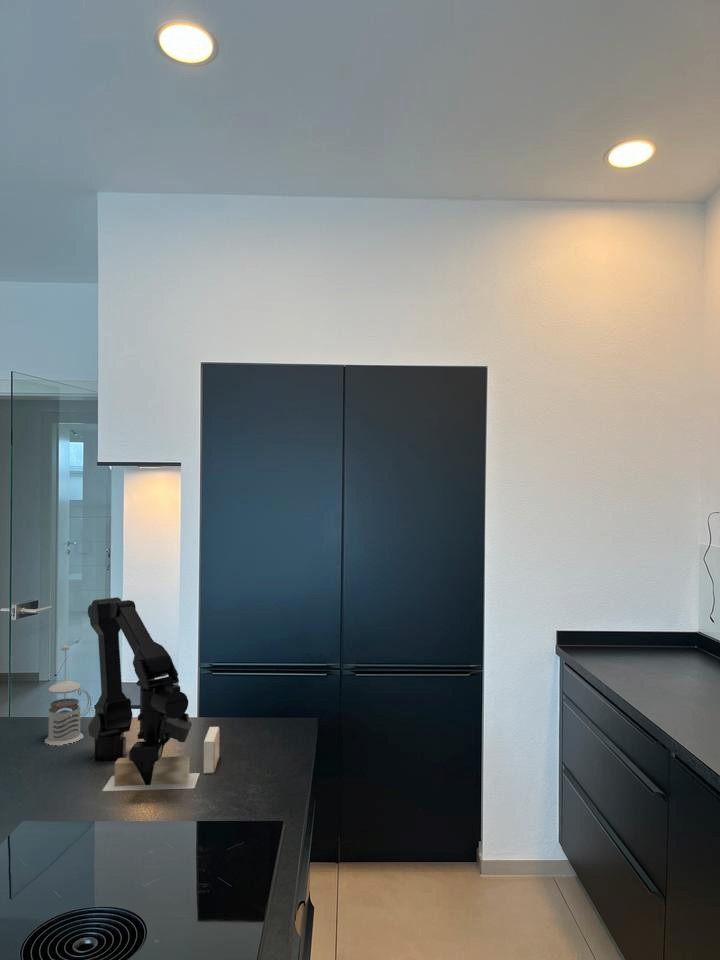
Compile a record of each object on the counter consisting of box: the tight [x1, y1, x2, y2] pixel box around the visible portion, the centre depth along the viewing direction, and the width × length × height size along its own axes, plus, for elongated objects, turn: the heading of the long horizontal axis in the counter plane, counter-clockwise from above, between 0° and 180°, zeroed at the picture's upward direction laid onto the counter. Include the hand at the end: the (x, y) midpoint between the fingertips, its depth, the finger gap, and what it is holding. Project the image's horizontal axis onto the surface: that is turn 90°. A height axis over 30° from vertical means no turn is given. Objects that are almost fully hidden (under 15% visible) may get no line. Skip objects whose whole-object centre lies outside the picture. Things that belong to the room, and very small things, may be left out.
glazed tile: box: [203, 726, 220, 774], centre depth 164 cm, size 2×10×8 cm, turn 5°
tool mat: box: [101, 772, 200, 792], centre depth 154 cm, size 20×8×1 cm, turn 95°
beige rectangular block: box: [114, 755, 190, 786], centre depth 154 cm, size 16×3×5 cm, turn 95°
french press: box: [43, 644, 92, 746], centre depth 183 cm, size 10×12×25 cm
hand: (152, 776), depth 154 cm, fingers open, 8 cm apart
